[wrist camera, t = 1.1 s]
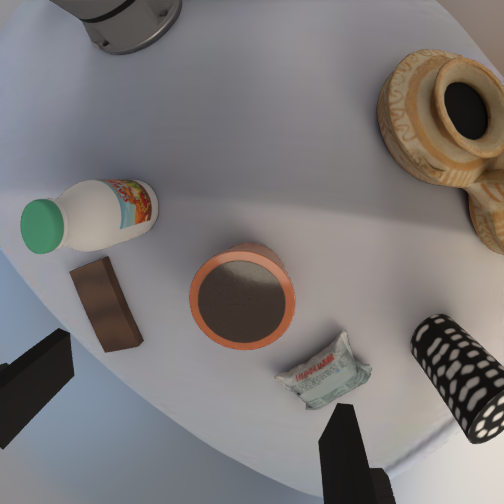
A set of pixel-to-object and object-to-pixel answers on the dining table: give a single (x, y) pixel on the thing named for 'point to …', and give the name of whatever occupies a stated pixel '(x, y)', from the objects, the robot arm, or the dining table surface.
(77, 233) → the milk bottle
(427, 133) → the ceramic vessel
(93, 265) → the walnut board
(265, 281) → the flower pot
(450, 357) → the white-spotted black cylinder
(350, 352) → the packaged food
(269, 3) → the dining table surface
